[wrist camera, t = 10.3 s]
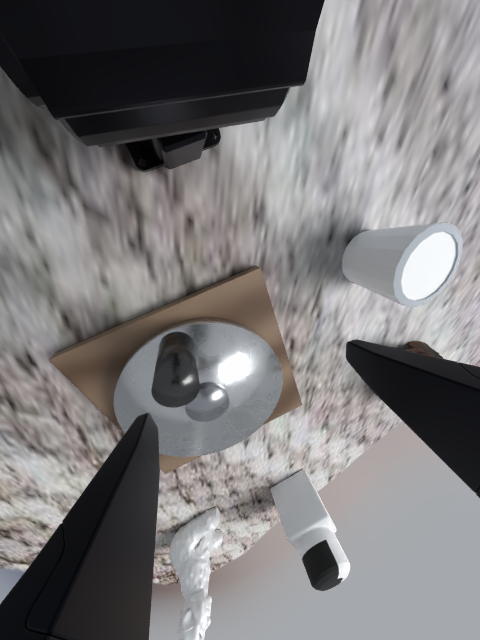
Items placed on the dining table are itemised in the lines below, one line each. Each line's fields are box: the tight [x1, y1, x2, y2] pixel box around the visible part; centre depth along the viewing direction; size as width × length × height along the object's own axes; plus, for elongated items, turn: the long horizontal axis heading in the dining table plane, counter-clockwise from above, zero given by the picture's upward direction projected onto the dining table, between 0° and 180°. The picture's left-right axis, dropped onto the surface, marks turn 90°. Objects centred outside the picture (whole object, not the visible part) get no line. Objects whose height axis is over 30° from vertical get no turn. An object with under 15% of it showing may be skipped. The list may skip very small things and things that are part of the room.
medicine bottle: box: [270, 469, 350, 591], centre depth 34 cm, size 7×7×12 cm
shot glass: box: [342, 222, 462, 307], centre depth 20 cm, size 7×7×7 cm
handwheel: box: [114, 318, 283, 457], centre depth 20 cm, size 17×17×7 cm
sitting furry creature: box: [169, 507, 223, 640], centre depth 31 cm, size 10×9×12 cm
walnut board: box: [49, 266, 302, 474], centre depth 24 cm, size 20×20×1 cm
